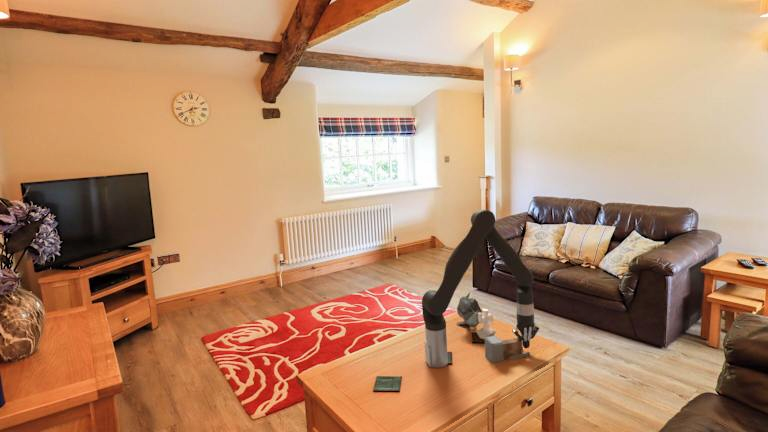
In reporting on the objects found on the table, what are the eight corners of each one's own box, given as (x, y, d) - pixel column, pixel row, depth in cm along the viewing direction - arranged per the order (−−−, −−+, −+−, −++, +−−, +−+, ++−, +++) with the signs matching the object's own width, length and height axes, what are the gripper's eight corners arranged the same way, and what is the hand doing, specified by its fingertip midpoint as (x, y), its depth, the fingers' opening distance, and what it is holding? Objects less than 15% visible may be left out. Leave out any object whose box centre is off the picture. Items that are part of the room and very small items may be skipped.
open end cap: (509, 359, 191) (509, 356, 190) (502, 352, 197) (502, 349, 197) (529, 355, 193) (529, 352, 192) (521, 349, 199) (521, 346, 199)
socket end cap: (492, 363, 189) (491, 344, 187) (485, 356, 195) (484, 337, 194) (503, 360, 190) (503, 342, 189) (496, 353, 197) (495, 335, 195)
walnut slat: (493, 360, 191) (493, 346, 190) (490, 357, 194) (489, 342, 193) (522, 355, 194) (521, 340, 193) (518, 352, 197) (518, 337, 196)
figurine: (498, 337, 213) (497, 308, 211) (485, 343, 208) (484, 314, 205) (486, 332, 219) (485, 304, 216) (474, 338, 213) (473, 310, 211)
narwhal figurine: (456, 335, 219) (454, 301, 216) (456, 322, 233) (455, 291, 231) (484, 335, 216) (483, 301, 213) (483, 323, 231) (482, 291, 228)
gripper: (533, 306, 198) (534, 341, 201) (507, 311, 195) (508, 346, 198) (543, 312, 191) (543, 348, 193) (516, 317, 188) (517, 353, 191)
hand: (526, 347), depth 196 cm, fingers closed
